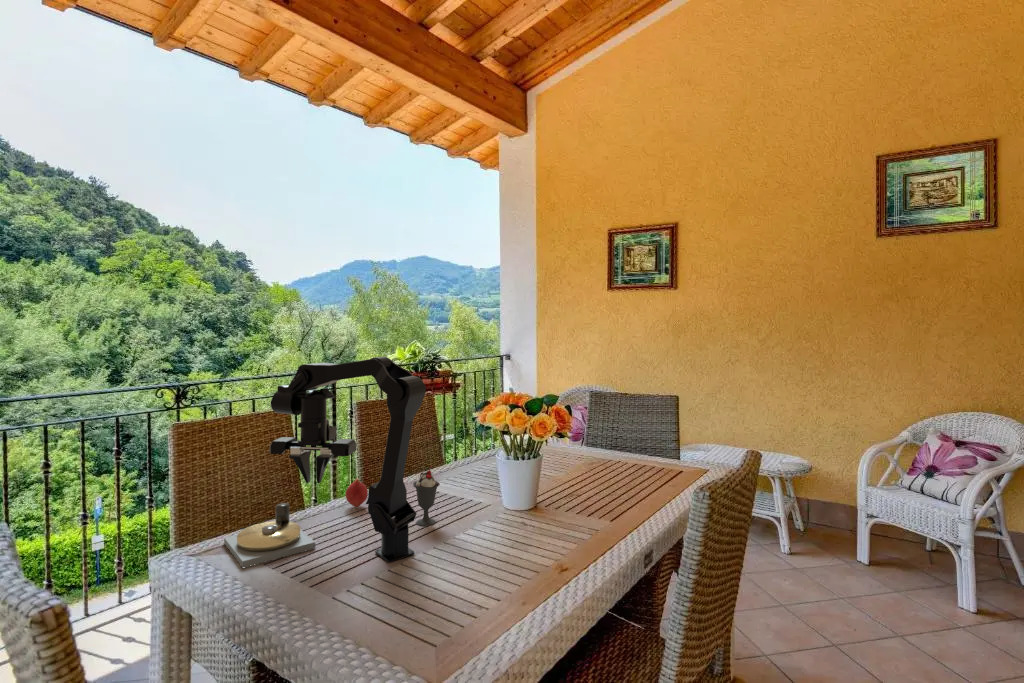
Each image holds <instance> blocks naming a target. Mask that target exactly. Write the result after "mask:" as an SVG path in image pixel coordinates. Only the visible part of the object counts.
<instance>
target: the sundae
mask: <svg viewBox="0 0 1024 683" xmlns="http://www.w3.org/2000/svg"><path fill="white" fill-rule="evenodd" d="M432 468H433V466H432V465H430V467H428V470H427V471H426V472H420V476H419V478H418V479H417V480H416V481H414V482H413V484H412V486H413V488H415V491H416V497H417V504H418V506H419V507H420V508H421V509H422V510H423V517H422V518H419V519H418V520H416V522H415V523H416V525H417V526H420V527H430V526H434V525H435V524H436V522H437V521H436V520H435V519H434V518H430V516H429V510H430V509H431V508H433V506H434V504H435V500H436V493H437V490H438V489H437V488H438V487H439V486H440V482H438V481H437V480H435V477H434V475H433V473H432V471H431V469H432Z"/></svg>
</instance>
